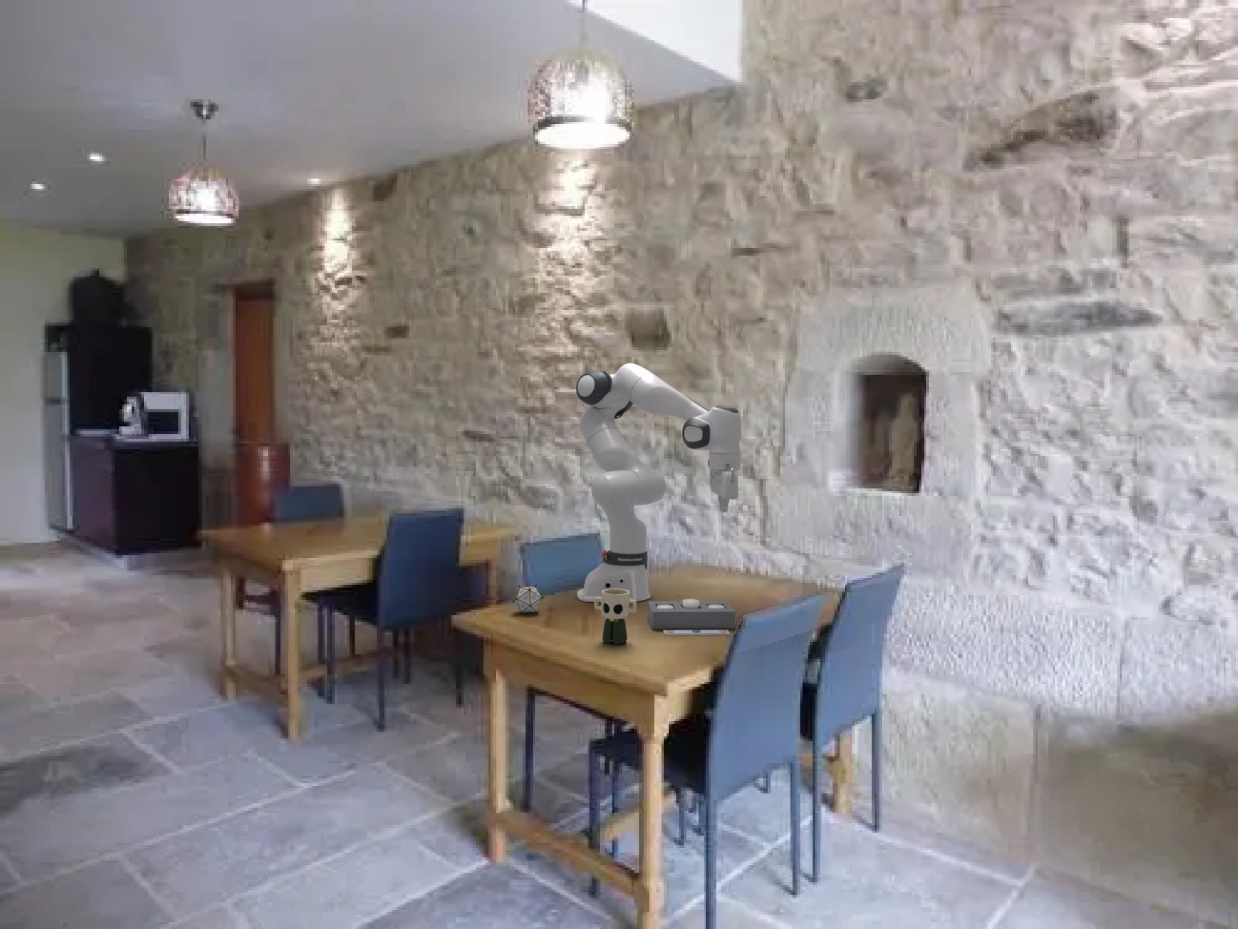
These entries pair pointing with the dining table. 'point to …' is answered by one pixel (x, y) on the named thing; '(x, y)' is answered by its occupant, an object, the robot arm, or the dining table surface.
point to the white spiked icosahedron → (528, 599)
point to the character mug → (615, 613)
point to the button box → (691, 616)
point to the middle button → (690, 603)
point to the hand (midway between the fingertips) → (723, 511)
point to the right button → (715, 606)
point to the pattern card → (695, 632)
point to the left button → (664, 607)
